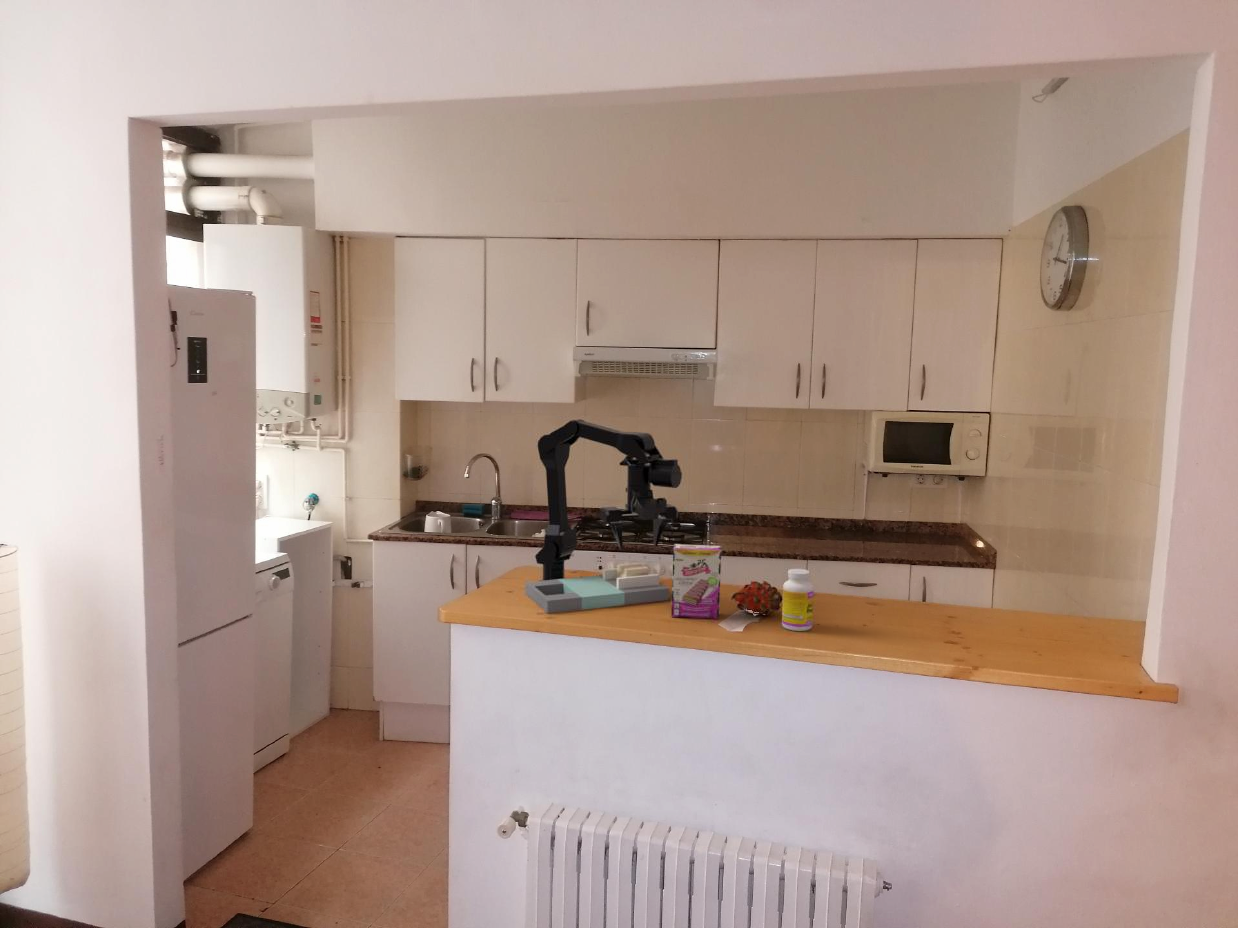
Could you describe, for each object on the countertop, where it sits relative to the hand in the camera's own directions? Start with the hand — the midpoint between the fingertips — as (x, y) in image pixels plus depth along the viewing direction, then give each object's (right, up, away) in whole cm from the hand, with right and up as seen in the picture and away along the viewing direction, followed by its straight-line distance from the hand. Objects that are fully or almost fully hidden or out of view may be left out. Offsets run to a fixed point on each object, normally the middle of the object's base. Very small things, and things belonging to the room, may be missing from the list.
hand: (638, 547), depth 214 cm
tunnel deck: (-11, -13, +3) cm, 17 cm away
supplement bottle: (+35, -16, -20) cm, 43 cm away
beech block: (-1, -9, +6) cm, 11 cm away
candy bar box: (+13, -15, -12) cm, 23 cm away
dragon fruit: (+28, -15, -10) cm, 33 cm away
